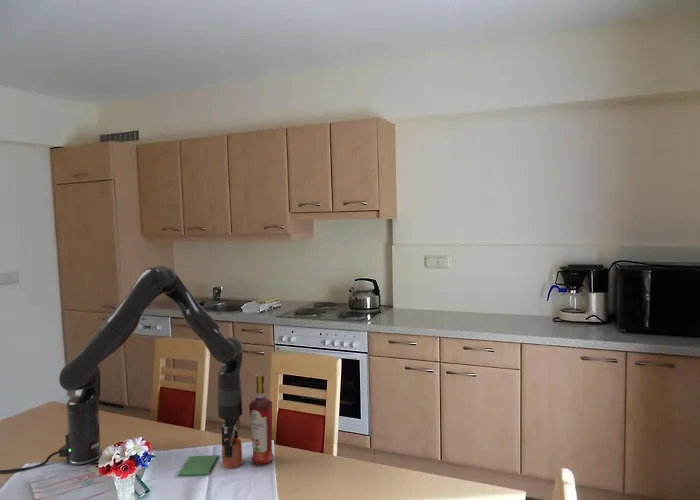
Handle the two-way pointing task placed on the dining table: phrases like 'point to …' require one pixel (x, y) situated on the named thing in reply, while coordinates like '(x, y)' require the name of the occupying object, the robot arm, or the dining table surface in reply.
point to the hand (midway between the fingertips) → (231, 450)
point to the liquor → (261, 424)
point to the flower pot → (233, 454)
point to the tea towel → (198, 465)
